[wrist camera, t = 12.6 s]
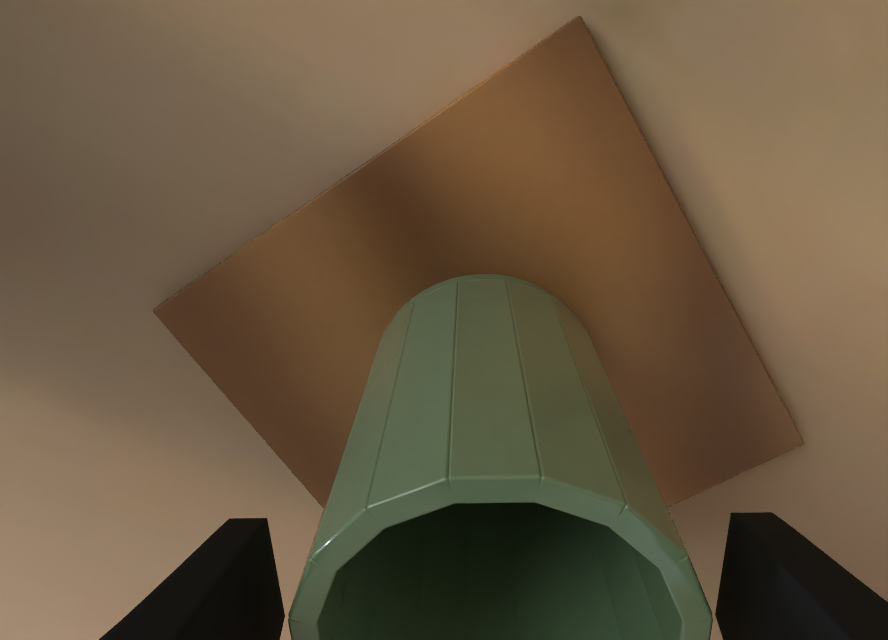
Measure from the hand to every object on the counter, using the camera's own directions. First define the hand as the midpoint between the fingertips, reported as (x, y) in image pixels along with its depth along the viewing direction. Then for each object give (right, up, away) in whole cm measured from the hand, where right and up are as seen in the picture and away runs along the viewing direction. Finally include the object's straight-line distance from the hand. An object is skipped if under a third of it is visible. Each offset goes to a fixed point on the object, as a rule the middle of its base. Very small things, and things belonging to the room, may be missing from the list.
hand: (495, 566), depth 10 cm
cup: (0, +2, +6) cm, 6 cm away
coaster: (0, +3, +6) cm, 7 cm away
